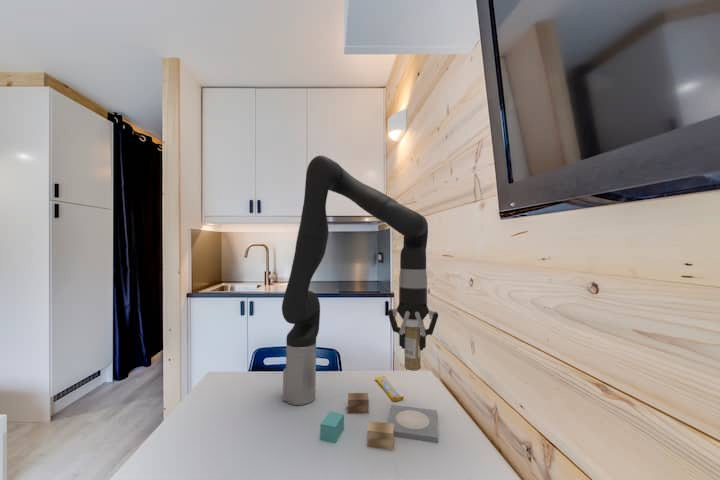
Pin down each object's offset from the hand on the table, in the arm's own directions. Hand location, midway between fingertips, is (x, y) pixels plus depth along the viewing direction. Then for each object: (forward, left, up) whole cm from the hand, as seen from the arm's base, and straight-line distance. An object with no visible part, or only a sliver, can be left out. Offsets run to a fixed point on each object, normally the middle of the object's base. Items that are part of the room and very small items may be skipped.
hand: (412, 348), depth 83 cm
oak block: (-7, -10, -20) cm, 24 cm away
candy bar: (-9, +18, -21) cm, 29 cm away
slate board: (0, 0, -20) cm, 20 cm away
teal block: (-19, -9, -20) cm, 30 cm away
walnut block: (-16, +4, -20) cm, 26 cm away
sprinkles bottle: (0, 0, -5) cm, 5 cm away
